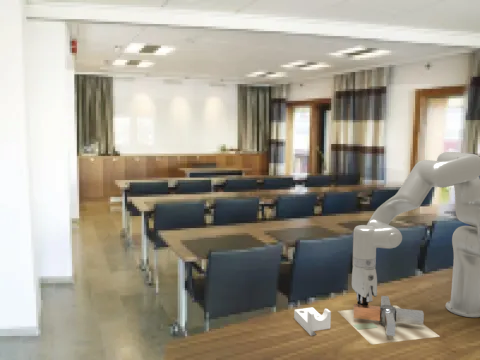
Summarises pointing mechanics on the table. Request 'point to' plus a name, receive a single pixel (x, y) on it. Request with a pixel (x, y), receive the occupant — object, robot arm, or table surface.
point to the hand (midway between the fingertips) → (362, 312)
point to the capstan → (388, 315)
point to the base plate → (377, 332)
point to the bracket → (313, 319)
